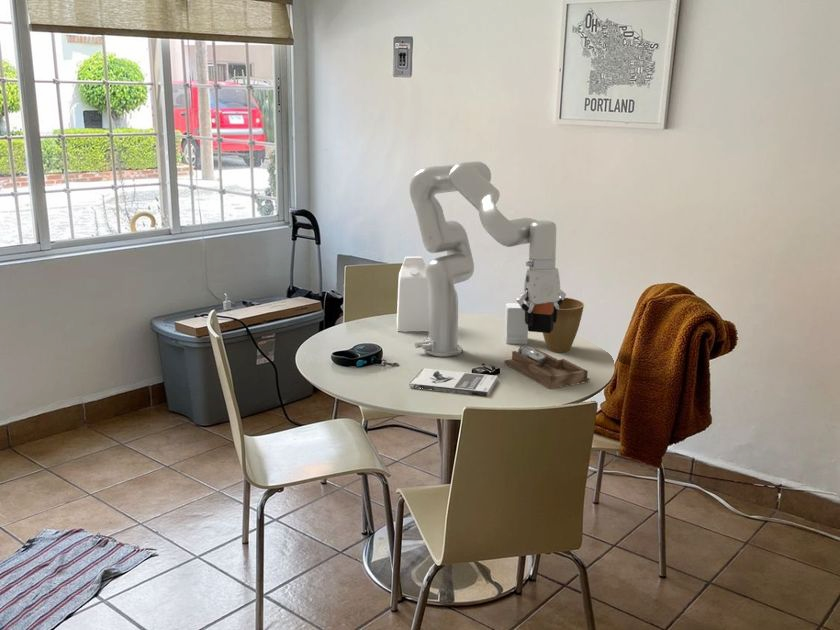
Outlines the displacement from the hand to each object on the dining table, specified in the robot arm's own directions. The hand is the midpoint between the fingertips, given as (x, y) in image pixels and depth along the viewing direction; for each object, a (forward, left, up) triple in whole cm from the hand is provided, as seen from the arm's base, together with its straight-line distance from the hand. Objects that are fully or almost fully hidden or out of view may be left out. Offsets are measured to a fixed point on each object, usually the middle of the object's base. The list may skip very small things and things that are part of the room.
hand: (540, 322), depth 230 cm
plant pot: (+21, +20, -17) cm, 33 cm away
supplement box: (+13, +34, -17) cm, 40 cm away
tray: (+4, +2, -17) cm, 17 cm away
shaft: (+4, +10, -16) cm, 19 cm away
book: (-26, +5, -17) cm, 32 cm away
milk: (-12, +64, -17) cm, 67 cm away
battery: (0, 0, -3) cm, 3 cm away
